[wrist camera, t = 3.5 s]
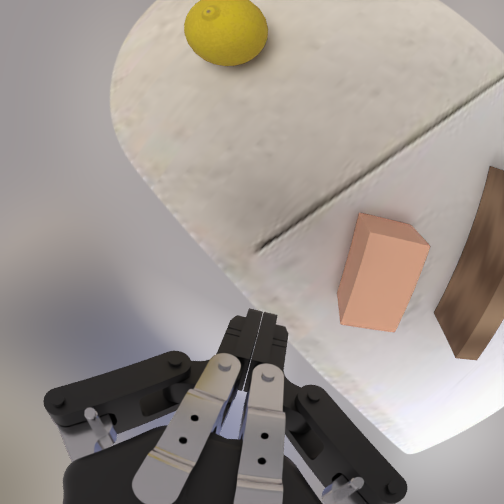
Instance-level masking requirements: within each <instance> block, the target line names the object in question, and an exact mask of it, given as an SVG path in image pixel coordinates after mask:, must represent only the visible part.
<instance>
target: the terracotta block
mask: <svg viewBox="0 0 504 504" xmlns="http://www.w3.org/2000/svg"><path fill="white" fill-rule="evenodd" d="M429 249H430V245H429V244H428V243H427V242H426V241H425V240H424V238H423V237H422V236H421V235H420V234H419V233H418V232H417V231H416V230H415V229H414V228H413V227H412V225H410V224H406V223H402V222H398V221H394V220H390V219H385V218H381V217H377V216H372V215H368V214H364V213H359V215H358V219H357V223H356V227H355V231H354V235H353V239H352V243H351V246H350V250H349V254H348V257H347V261H346V265H345V268H344V271H343V275H342V278H341V282H340V285H339V288H338V291H337V297H338V306H339V315H340V324H341V325H348V326H354V327H360V328H367V329H374V330H381V331H388V332H395V331H396V329H397V327H398V325H399V323H400V320H401V318H402V316H403V314H404V312H405V310H406V307H407V305H408V303H409V300H410V298H411V296H412V293H413V291H414V289H415V286H416V284H417V281H418V279H419V276H420V274H421V271H422V268H423V266H424V263H425V260H426V257H427V255H428V252H429Z"/></svg>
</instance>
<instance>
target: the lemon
mask: <svg viewBox="0 0 504 504" xmlns="http://www.w3.org/2000/svg"><path fill="white" fill-rule="evenodd" d="M184 32H185V36H186V39H187V42H188V44H189V45H190V47H191V48H192V49H193V51H194V52H195V53H196V54H197V55H199V56H200V57H201V58H203V59H204V60H206V61H208V62H211V63H213V64H216V65H222V66H235V65H239V64H243V63H246V62H248V61H250V60H251V59H253V58H254V57H255V56H257V55H258V54H259V53H260V51H261V50H262V49H263V47H264V45H265V43H266V40H267V35H268V27H267V23H266V19H265V17H264V15H263V14H262V12H261V11H260V9H259V8H258V7H257V6H256V5H254V4H253V3H252V2H251V1H249V0H200V1H199V2H198V3H196V4H195V5H194V6H193V7H192V8H191V9H190V11H189V13H188V15H187V16H186V20H185V23H184Z"/></svg>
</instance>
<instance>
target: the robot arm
mask: <svg viewBox="0 0 504 504" xmlns="http://www.w3.org/2000/svg"><path fill="white" fill-rule="evenodd" d="M262 313H263V312H262V311H258V310H254V309H249V310H248V313H247V316H246V317H242V316H235V317H234V318H233V319H232V320H230V323H229V325H228V328H227V330H226V333H225V335H224V337H223V340H222V342H221V345H220V347H219V349H218V352H217V354H216V355H214V356H213V357H212V358H211V359H210V360H207V361H191V360H190V358H189V357H188V356H187V355H186V354H185V353H183V352H179V351H170V352H166V353H163V354H161V355H158V356H155V357H152V358H149V359H147V360H144V361H141V362H138V363H135V364H132V365H129V366H126V367H123V368H120V369H117V370H114V371H111V372H108V373H105V374H102V375H98V376H95V377H92V378H89V379H86V380H82V381H78V382H75V383H72V384H68V385H65V386H61V387H58V388H54V389H51V390H50V391H48V393H46V395H45V397H44V406H45V408H46V410H47V412H48V413H49V415H50V416H51V419H52V420H53V422H54V423H55V425H56V426H57V427H58V429H59V431H60V434H61V437H62V439H63V442H64V445H65V447H66V449H67V452H68V454H69V456H70V459H71V461H72V463H71V464H70V465H69V466H68V467H67V469H66V471H65V473H64V477H63V489H64V499H63V504H322V503H321V501H320V500H319V498H318V497H317V495H316V494H315V493H314V491H313V490H312V488H311V487H310V485H309V484H308V483H307V481H306V480H305V478H304V477H303V475H302V474H301V472H300V471H299V469H298V468H297V467H296V465H295V464H294V463H293V462H292V461H291V460H290V459H289V458H288V457H286V456H285V455H284V437H285V435H286V436H287V437H288V439H289V440H290V442H291V443H292V445H293V446H294V447H295V449H296V450H297V451H298V453H299V454H300V455H301V457H302V458H303V460H304V461H305V462H306V464H307V465H308V466H309V468H310V469H311V470H312V472H314V474H315V475H316V477H317V478H318V479H319V481H321V483H322V484H323V486H324V487H325V489H324V491H323V492H322V500H323V502H324V504H395V503H397V502H399V501H400V500H401V499H403V498H404V496H405V495H406V492H407V484H406V481H405V480H404V478H402V476H401V475H400V474H399V473H398V472H397V471H396V470H395V469H394V468H393V467H392V466H391V464H390V463H388V461H387V460H386V459H385V458H384V457H383V456H382V455H381V454H380V452H379V451H378V450H377V449H376V448H375V447H374V446H373V445H372V444H371V443H370V441H369V440H368V439H367V438H366V437H365V436H364V435H363V434H362V433H361V431H360V430H359V429H358V428H357V427H356V426H355V425H354V424H353V422H352V421H351V420H350V419H349V418H348V417H347V415H346V414H345V413H344V412H343V411H342V410H341V409H340V407H339V406H338V405H337V404H336V403H335V402H334V401H333V399H332V398H331V397H330V396H329V395H328V394H327V393H326V391H325V390H324V389H322V388H321V387H319V386H316V385H306V386H303V387H302V388H301V387H299V386H297V385H294V384H293V383H291V382H290V381H289V380H288V379H287V378H286V377H285V375H284V371H283V369H284V362H285V354H286V347H287V340H288V332H287V330H286V327H284V326H280V325H276V320H277V315H275V314H271V313H267V312H264V314H263V318H262V321H261V317H262ZM260 321H261V325H260ZM259 326H260V329H259ZM258 330H259V333H258ZM257 334H258V336H257ZM256 338H257V340H256ZM255 342H256V344H255ZM254 346H255V348H254ZM253 349H254V351H253ZM252 353H253V355H252ZM251 357H252V359H251ZM250 360H251V363H250ZM249 364H250V367H249ZM248 368H249V371H248ZM247 371H248V375H247V379H246V383H245V387H244V391H245V392H247V395H246V399H245V403H244V407H243V413H242V418H241V424H240V430H239V436H238V439H226V438H224V437H222V436H220V432H221V430H222V427H223V425H224V423H225V420H226V418H227V415H228V413H229V411H230V408H231V406H232V403H233V400H234V399H235V397H236V394H237V391H238V390H241V391H242V389H243V385H244V382H245V378H246V374H247ZM176 410H177V411H176ZM174 411H176V413H175V414H174V416H173V418H172V419H171V421H170V423H169V424H168V425H167V426H160V427H156V428H153V429H151V430H149V431H147V432H144V433H142V434H140V435H138V436H135V437H133V438H131V439H128V440H126V441H123V442H121V443H118V444H116V445H113V444H114V443H115V441H116V439H117V434H119V433H122V432H124V431H126V430H130V429H132V428H135V427H137V426H140V425H143V424H145V423H148V422H150V421H153V420H155V419H157V418H160V417H162V416H164V415H167V414H169V413H171V412H174ZM112 445H113V446H112ZM110 446H111V447H110Z"/></svg>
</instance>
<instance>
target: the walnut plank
mask: <svg viewBox="0 0 504 504" xmlns="http://www.w3.org/2000/svg"><path fill="white" fill-rule="evenodd" d="M434 314H435V316H436V318H437V320H438V322H439V324H440V326H441V328H442V330H443V332H444V334H445V336H446V338H447V340H448V342H449V345H450V347H451V349H452V351H453V353H454V355H455V358H460V359H470V360H477V359H478V358H479V356H480V355H481V354H482V352H483V351H484V349H485V348H486V346H487V345H488V343H489V342H490V340H491V339H492V337H493V336H494V334H495V332H496V331H497V329H498V328H499V326H500V324H501V323H502V321H503V319H504V171H503V170H500V169H497V168H494V167H491V166H490V168H489V172H488V176H487V180H486V184H485V188H484V191H483V195H482V198H481V202H480V205H479V208H478V211H477V214H476V217H475V220H474V223H473V226H472V229H471V232H470V234H469V237H468V240H467V242H466V245H465V247H464V250H463V252H462V255H461V257H460V260H459V262H458V264H457V267H456V269H455V271H454V273H453V276H452V278H451V280H450V282H449V284H448V286H447V288H446V290H445V292H444V294H443V296H442V298H441V300H440V302H439V304H438V306H437V308H436V310H435V312H434Z"/></svg>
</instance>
